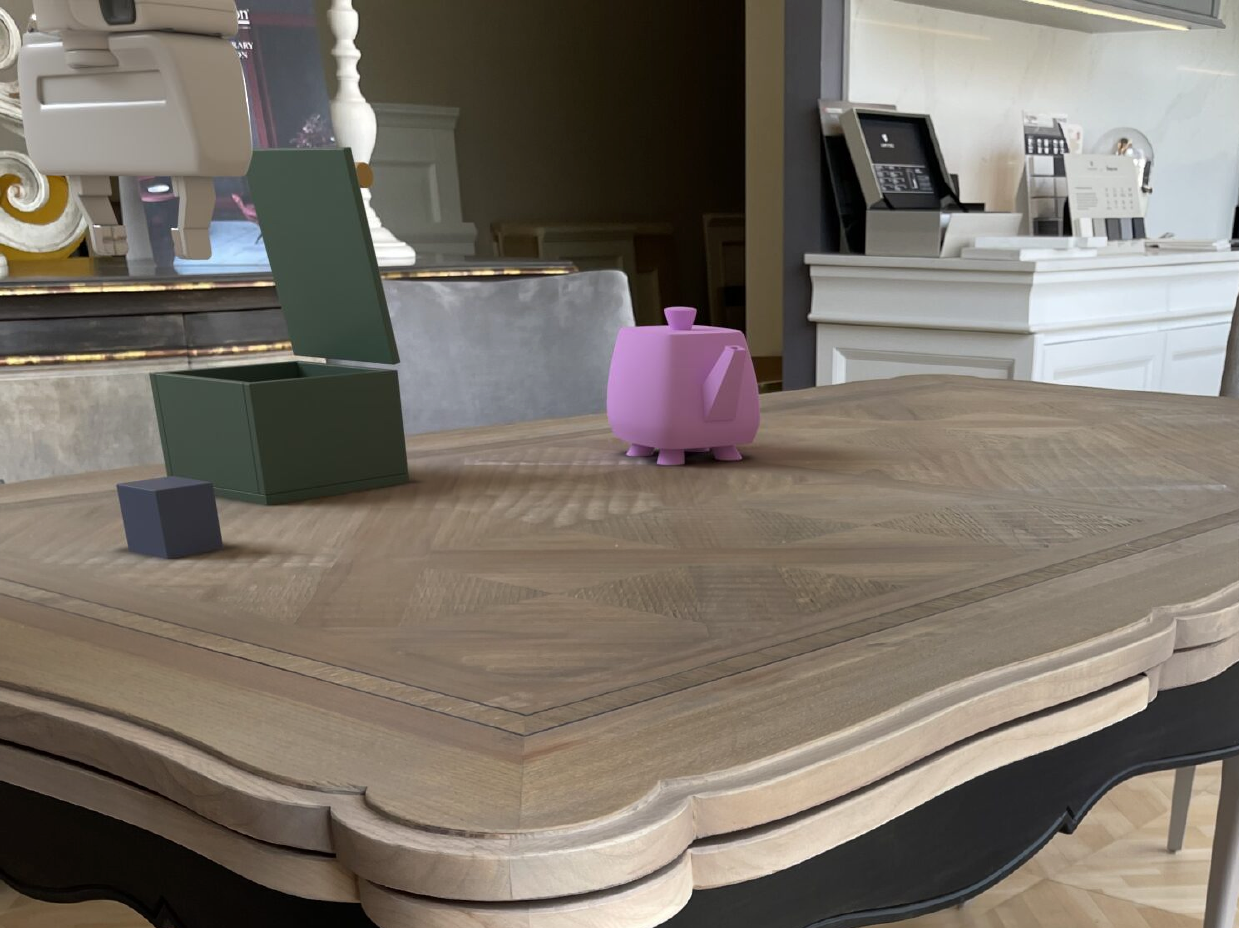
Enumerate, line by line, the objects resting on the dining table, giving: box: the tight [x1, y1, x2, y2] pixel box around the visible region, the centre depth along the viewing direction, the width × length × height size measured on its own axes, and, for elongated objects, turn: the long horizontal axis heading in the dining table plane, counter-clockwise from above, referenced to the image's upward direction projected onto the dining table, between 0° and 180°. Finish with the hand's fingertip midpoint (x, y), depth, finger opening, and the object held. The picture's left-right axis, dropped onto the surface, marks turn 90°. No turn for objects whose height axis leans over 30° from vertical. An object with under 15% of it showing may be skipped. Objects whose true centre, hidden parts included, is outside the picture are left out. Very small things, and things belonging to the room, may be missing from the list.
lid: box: [245, 146, 401, 366], centre depth 128 cm, size 15×13×5 cm
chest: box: [148, 360, 410, 506], centre depth 128 cm, size 15×13×9 cm
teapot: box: [606, 306, 761, 466], centre depth 144 cm, size 20×12×13 cm, turn 33°
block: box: [115, 476, 224, 560], centre depth 105 cm, size 4×4×4 cm
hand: (152, 257), depth 103 cm, fingers open, 8 cm apart
